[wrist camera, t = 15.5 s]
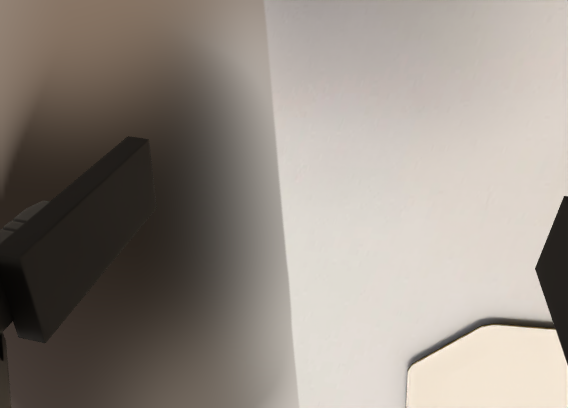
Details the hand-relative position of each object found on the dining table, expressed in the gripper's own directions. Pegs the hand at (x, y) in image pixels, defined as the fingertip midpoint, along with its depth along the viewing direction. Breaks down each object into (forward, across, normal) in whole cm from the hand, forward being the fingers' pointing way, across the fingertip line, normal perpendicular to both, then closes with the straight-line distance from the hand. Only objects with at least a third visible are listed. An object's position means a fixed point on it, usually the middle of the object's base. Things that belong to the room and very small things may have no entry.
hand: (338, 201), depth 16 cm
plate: (+31, +23, -43) cm, 58 cm away
